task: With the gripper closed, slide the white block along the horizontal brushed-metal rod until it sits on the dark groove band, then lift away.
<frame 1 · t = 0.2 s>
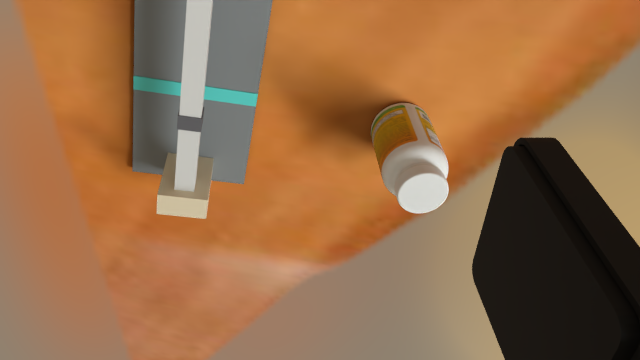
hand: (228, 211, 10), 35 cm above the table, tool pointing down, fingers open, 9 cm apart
supplement bottle: (399, 126, 51), on the table
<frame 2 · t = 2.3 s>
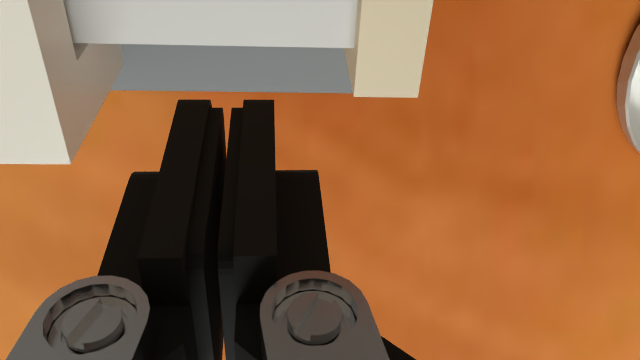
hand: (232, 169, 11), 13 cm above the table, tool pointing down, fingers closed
white block: (39, 6, 17), point 5 cm above the table, slide at 0.0 cm
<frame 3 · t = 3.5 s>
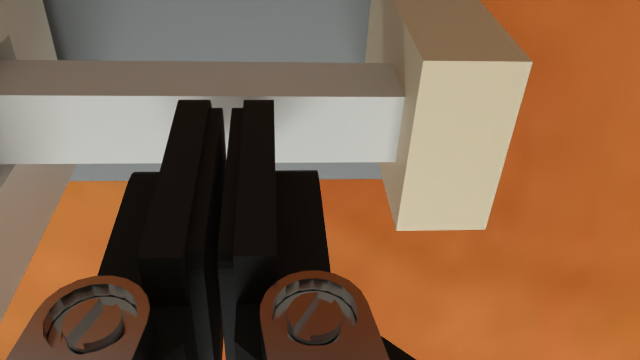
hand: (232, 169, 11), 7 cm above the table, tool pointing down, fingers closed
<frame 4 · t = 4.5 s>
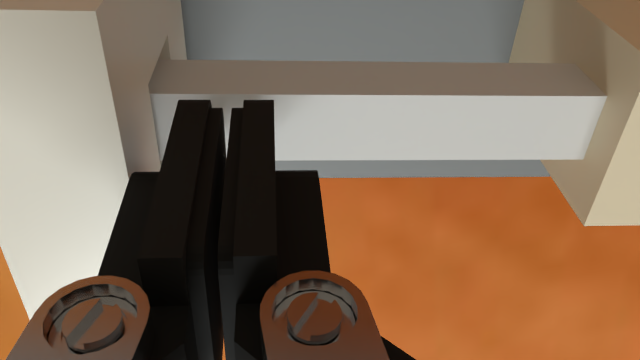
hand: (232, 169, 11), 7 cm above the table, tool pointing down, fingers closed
white block: (108, 109, 12), point 5 cm above the table, slide at 1.0 cm, touching gripper
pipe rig: (1, 23, 16), on the table
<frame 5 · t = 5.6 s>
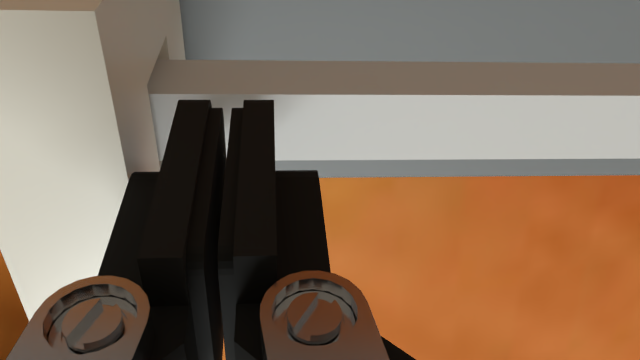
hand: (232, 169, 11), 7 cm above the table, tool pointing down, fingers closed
white block: (107, 109, 12), point 5 cm above the table, slide at 7.3 cm, touching gripper
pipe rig: (230, 26, 16), on the table
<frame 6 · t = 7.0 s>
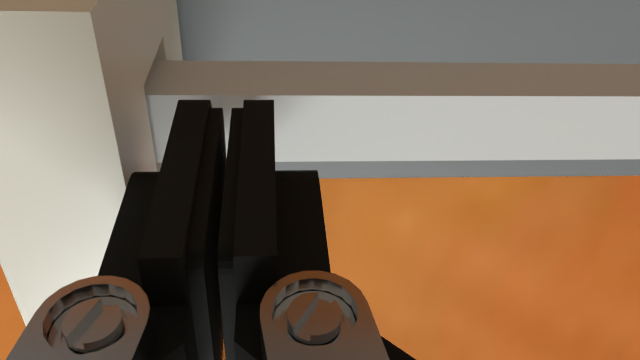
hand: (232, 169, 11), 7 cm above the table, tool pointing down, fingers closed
white block: (104, 110, 12), point 5 cm above the table, slide at 13.1 cm, touching gripper
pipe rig: (426, 29, 17), on the table
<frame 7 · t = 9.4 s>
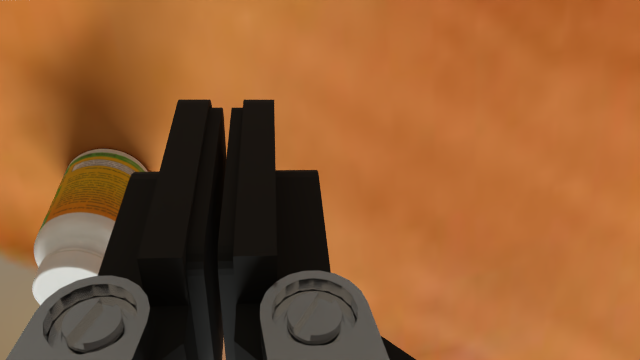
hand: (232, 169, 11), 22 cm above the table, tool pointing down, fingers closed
supplement bottle: (111, 178, 37), on the table
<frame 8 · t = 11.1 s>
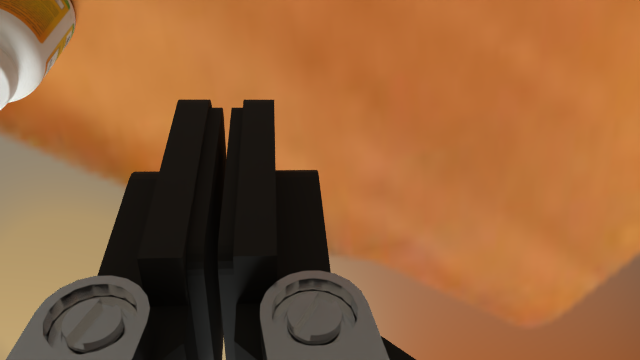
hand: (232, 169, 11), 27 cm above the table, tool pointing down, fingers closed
supplement bottle: (32, 9, 35), on the table
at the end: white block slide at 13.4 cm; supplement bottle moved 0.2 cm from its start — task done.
